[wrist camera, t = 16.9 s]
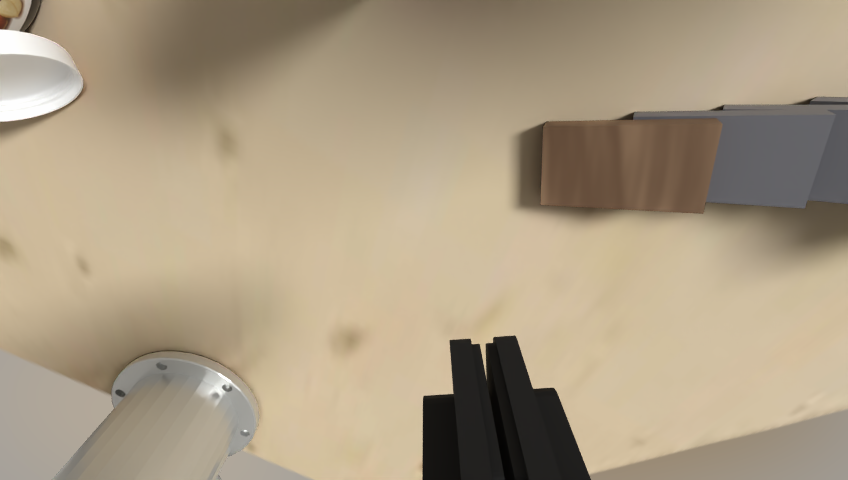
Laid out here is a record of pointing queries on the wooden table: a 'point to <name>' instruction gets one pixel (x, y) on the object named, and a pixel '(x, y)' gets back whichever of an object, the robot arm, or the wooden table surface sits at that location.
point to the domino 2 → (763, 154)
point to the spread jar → (32, 66)
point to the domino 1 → (629, 163)
